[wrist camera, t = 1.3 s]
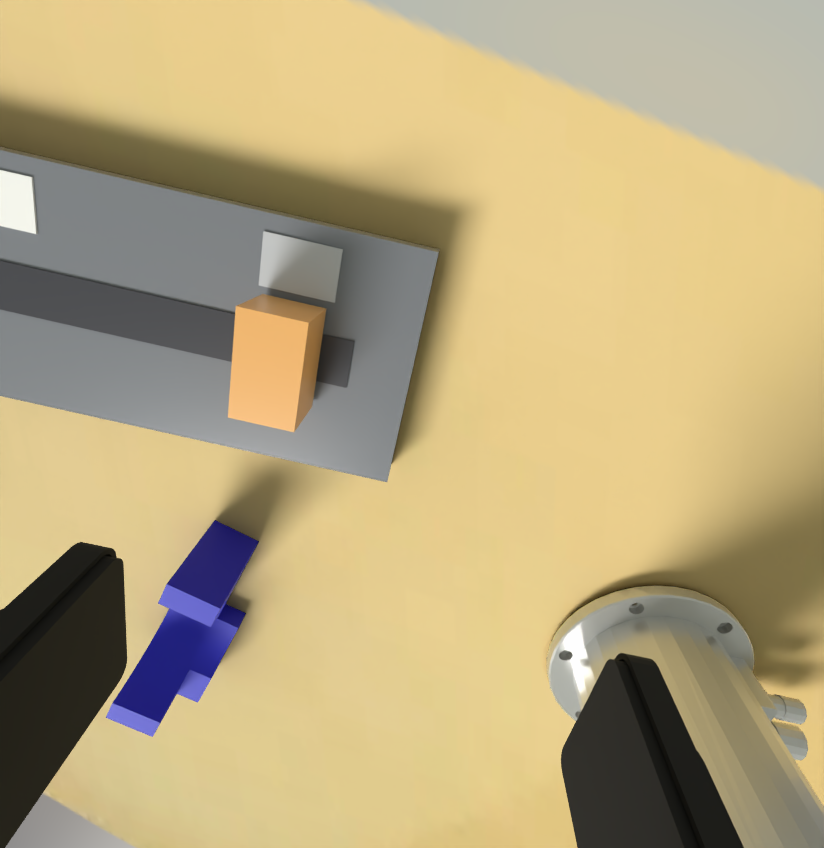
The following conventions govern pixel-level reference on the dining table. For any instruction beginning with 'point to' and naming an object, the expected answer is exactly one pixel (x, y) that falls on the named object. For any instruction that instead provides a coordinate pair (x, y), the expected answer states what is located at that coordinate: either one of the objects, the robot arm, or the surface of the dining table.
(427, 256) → the switch panel
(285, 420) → the switch knob
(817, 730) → the dining table surface
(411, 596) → the dining table surface
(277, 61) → the dining table surface
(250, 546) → the blue curved stepped piece
